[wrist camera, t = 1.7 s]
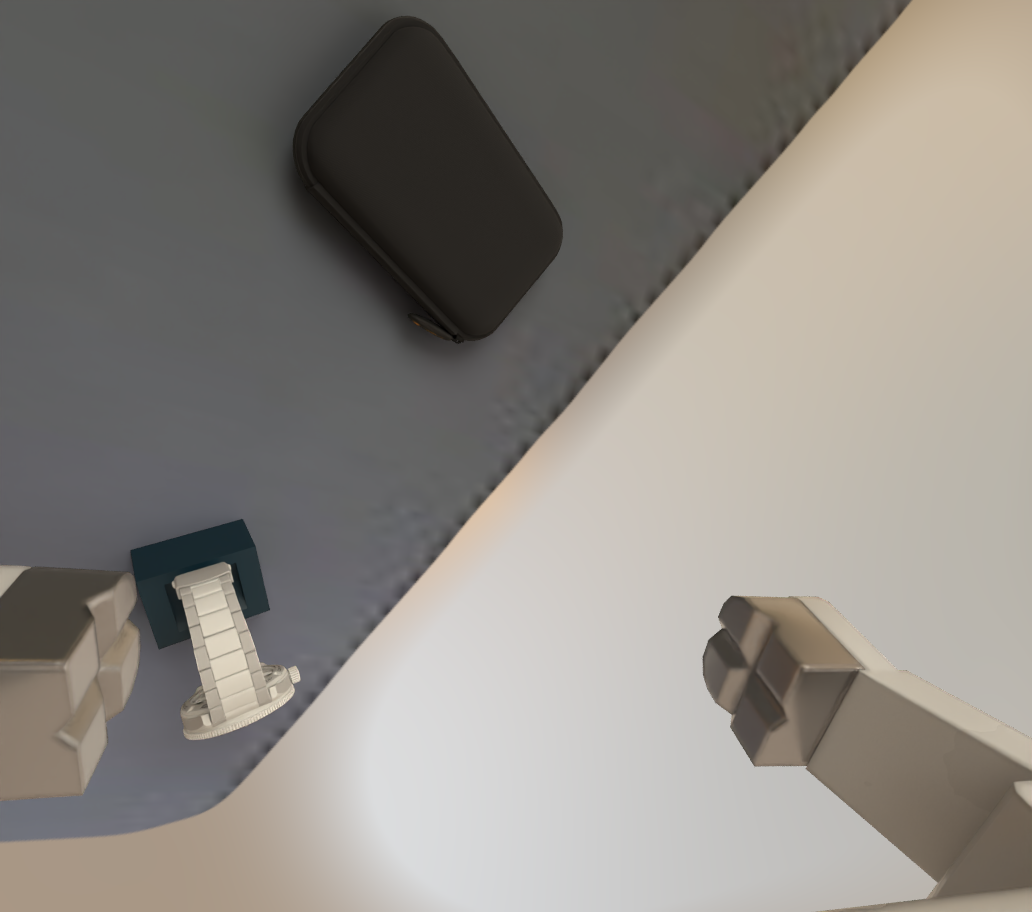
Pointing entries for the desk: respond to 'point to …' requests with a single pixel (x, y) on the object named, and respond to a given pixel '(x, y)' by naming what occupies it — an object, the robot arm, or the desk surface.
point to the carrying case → (428, 181)
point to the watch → (213, 624)
